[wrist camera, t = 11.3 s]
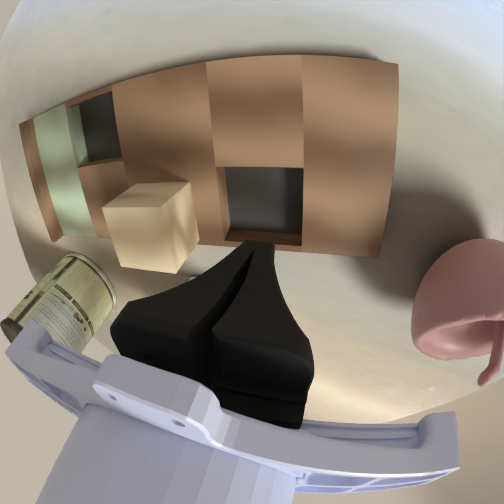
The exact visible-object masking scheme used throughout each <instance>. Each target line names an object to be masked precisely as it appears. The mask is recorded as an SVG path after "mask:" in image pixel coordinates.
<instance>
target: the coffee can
mask: <svg viewBox="0 0 504 504" xmlns="http://www.w3.org/2000/svg"><path fill="white" fill-rule="evenodd" d="M115 305H116V295H115V291H114V289H113V286H112V285H111V283H110V281H109V280H108V278H107V277H106V275H105V274H104V273H103V272H102V271H101V270H100V268H99V267H98V266H96V265H95V264H94V263H93V262H92V261H90V260H89V259H88V258H86V257H85V256H83V255H80V254H77V253H69V254H67V255H65V256H64V258H63V259H62V260H61V261H60V262H59V263H58V264H57V265H56V266H55V267H54V268H52V270H50V271H49V272H48V273H47V274H46V275H45V276H44V277H43V278H42V279H41V281H40V282H39V283H38V284H37V285H36V286H35V287H34V288H33V289H32V290H31V291H30V292H29V293H28V294H27V295H26V296H25V297H24V298H23V299H22V301H21V302H20V303H19V304H18V305H17V306H16V307H15V309H14V310H13V311H12V312H11V313H10V314H9V315H8V317H7V318H6V319H4V320H3V321H2V322H1V323H0V326H1V328H2V331H3V332H4V334H5V336H6V337H7V339H8V340H9V341H10V343H12V342H13V341H14V339H15V338H16V337H17V336H18V334H19V333H20V332H21V331H22V329H23V328H24V327H25V326H26V325H27V323H28V322H29V321H30V320H34V321H35V322H37V323H39V324H41V325H42V326H44V327H45V328H46V329H47V330H48V332H49V333H50V335H51V336H52V339H54V340H56V341H58V342H59V343H61V344H63V345H65V346H67V347H69V348H71V349H73V350H75V351H77V352H79V353H81V352H82V351H83V349H84V348H85V346H86V345H87V343H88V342H89V341H90V339H91V338H92V336H93V335H94V334H95V332H96V331H97V329H98V328H99V327H100V325H101V324H102V322H103V321H104V320H105V318H106V317H107V316H108V314H109V313H110V312H111V310H112V309H113V308H114V307H115Z"/></svg>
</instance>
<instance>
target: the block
mask: <svg viewBox="0 0 504 504" xmlns="http://www.w3.org/2000/svg"><path fill="white" fill-rule="evenodd" d="M102 210H103V214H104V217H105V220H106V224H107V227H108V230H109V233H110V236H111V239H112V242H113V245H114V248H115V251H116V254H117V257H118V260H119V262H120V265H121V267H128V268H136V269H143V270H151V271H158V272H166V273H174V274H176V273H177V271H178V270H179V269H180V267H181V266H182V264H183V263H184V261H185V260H186V259H187V257H188V256H189V254H190V253H191V251H192V250H193V249H194V247H195V246H196V244H197V243H198V242H199V234H198V228H197V222H196V216H195V210H194V204H193V198H192V191H191V185H190V182H164V183H143V184H135V185H134V186H132V187H131V188H129V189H128V190H126V191H125V192H123V193H122V194H120V195H119V196H118V197H116V198H115V199H113V200H112V201H110V202H109V203H108V204H106V205H105V206H104V207H102Z"/></svg>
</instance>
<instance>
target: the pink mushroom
mask: <svg viewBox="0 0 504 504" xmlns="http://www.w3.org/2000/svg"><path fill="white" fill-rule="evenodd" d="M411 334H412V340H413V343H414V345H415V346H416V348H417V349H419V350H420V351H421V352H422V353H424V354H426V355H428V356H430V357H433V358H435V359H440V360H453V359H457V360H458V359H466V358H471V357H477V356H481V355H486V354H491V356H490V361H489V365H488V367H487V368H486V369H485V370H484V371H483V372H482V373H481V374H480V376H479V378H478V385H479V386H481V387H483V386H485V385H486V384H487V383H488V382H489V381H490V380H491V379H492V378H494V377H495V376H497V375H498V373H499V371H500V366H501V362H502V357H503V352H504V242H501V241H498V240H494V239H486V238H479V239H472V240H468V241H465V242H462V243H459V244H457V245H455V246H454V247H452V248H450V249H449V250H447V251H446V252H445V253H443V254H442V255H441V256H440V257H439V258H438V259H437V260H436V261H435V262H434V263H433V264H432V266H431V267H430V268H429V270H428V271H427V273H426V274H425V276H424V278H423V279H422V281H421V283H420V286H419V288H418V290H417V293H416V297H415V300H414V304H413V310H412V318H411Z"/></svg>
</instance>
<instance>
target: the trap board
mask: <svg viewBox="0 0 504 504" xmlns="http://www.w3.org/2000/svg"><path fill="white" fill-rule="evenodd" d="M398 92H399V77H398V64H395V63H389V62H383V61H376V60H369V59H361V58H351V57H340V56H324V55H268V56H252V57H241V58H231V59H223V60H215V61H208V62H202V63H196V64H190V65H185V66H180V67H175V68H171V69H166V70H162V71H158V72H154V73H150V74H146V75H142V76H139V77H135V78H132V79H128V80H125V81H122V82H119V83H116V84H113V85H110V86H107V87H104V88H101V89H98V90H96V91H93V92H90V93H88V94H85V95H83V96H80V97H78V98H75V99H73V100H71V101H68V102H66V103H64V104H62V105H60V106H57V107H55V108H53V109H51V110H49V111H47V112H45V113H43V114H41V115H39V116H37V117H35V118H33V119H31V120H28V121H25V122H22V123H21V124H19V127H20V133H21V138H22V144H23V148H24V153H25V157H26V162H27V166H28V170H29V174H30V177H31V181H32V185H33V188H34V192H35V195H36V198H37V201H38V204H39V207H40V210H41V213H42V216H43V219H44V222H45V225H46V227H47V230H48V233H49V235H50V238H51V240H52V242H56V241H57V240H58V239H60V238H61V237H62V236H63V235H71V236H86V237H101V238H111V236H110V233H109V230H108V227H107V224H106V220H105V217H104V214H103V210H102V207H104V206H105V205H106V204H108V203H109V202H110V201H112V200H113V199H115V198H116V197H118V196H119V195H120V194H122V193H123V192H125V191H126V190H128V189H129V188H131V187H132V186H134V185H135V184H143V183H164V182H190V185H191V191H192V198H193V204H194V210H195V216H196V222H197V228H198V234H199V242H198V243H197V244H200V245H213V246H227V247H238V246H239V245H241V244H242V243H243V242H244V241H246V240H252V241H260V242H267V243H273V244H274V245H275V250H281V251H294V252H307V253H320V254H333V255H346V256H359V257H372V258H379V253H380V249H381V244H382V239H383V234H384V229H385V223H386V218H387V212H388V206H389V200H390V193H391V186H392V178H393V170H394V161H395V150H396V138H397V123H398Z"/></svg>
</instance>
